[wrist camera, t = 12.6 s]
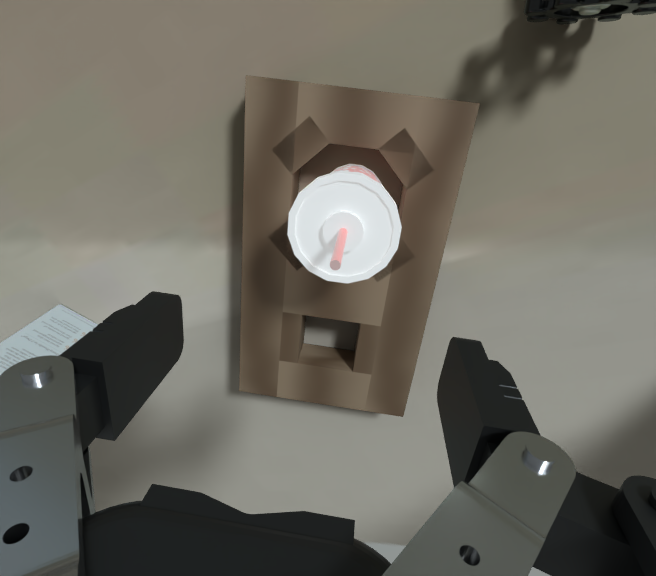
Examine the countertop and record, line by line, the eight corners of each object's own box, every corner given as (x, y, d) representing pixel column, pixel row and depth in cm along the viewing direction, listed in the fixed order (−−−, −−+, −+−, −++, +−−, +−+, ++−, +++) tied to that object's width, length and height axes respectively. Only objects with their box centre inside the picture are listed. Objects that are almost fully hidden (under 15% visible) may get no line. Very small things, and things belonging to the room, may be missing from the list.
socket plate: (469, 103, 26) (480, 103, 24) (401, 393, 37) (403, 416, 34) (258, 77, 27) (245, 75, 24) (248, 369, 37) (239, 391, 35)
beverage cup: (392, 148, 28) (407, 186, 15) (395, 233, 31) (410, 326, 18) (305, 156, 29) (252, 197, 16) (315, 238, 31) (275, 330, 19)
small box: (44, 344, 39) (-64, 423, 29) (60, 301, 36) (-51, 371, 27) (121, 385, 40) (42, 474, 30) (141, 346, 38) (62, 429, 28)
